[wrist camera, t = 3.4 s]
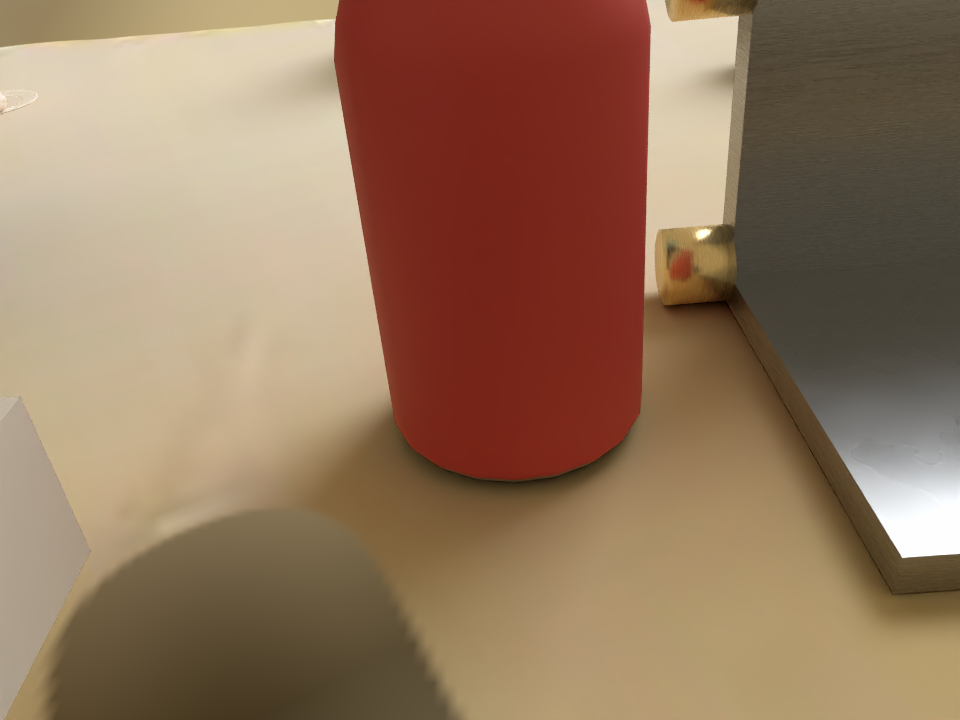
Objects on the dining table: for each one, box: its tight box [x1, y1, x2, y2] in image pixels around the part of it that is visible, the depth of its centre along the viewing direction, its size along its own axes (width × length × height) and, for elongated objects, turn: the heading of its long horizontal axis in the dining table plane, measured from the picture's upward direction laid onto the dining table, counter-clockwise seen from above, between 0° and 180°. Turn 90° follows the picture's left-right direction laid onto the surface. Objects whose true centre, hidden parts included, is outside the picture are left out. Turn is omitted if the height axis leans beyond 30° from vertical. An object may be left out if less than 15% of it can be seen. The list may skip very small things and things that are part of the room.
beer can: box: [334, 0, 651, 482], centre depth 19 cm, size 7×7×12 cm
